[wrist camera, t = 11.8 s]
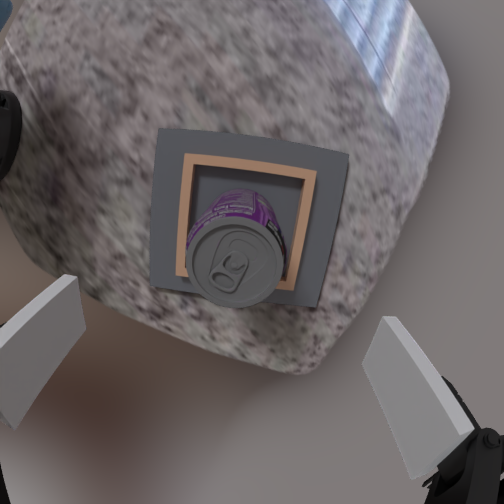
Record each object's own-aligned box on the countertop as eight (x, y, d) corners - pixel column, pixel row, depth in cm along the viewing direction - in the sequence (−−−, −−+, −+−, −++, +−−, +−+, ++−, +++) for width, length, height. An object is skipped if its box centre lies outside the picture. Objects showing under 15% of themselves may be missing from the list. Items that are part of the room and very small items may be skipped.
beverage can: (250, 265, 30) (249, 330, 19) (194, 230, 29) (160, 278, 17) (288, 213, 28) (313, 252, 17) (231, 174, 27) (216, 186, 15)
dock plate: (152, 282, 32) (146, 290, 30) (161, 129, 26) (154, 127, 24) (314, 303, 33) (317, 312, 31) (346, 154, 27) (353, 154, 25)
